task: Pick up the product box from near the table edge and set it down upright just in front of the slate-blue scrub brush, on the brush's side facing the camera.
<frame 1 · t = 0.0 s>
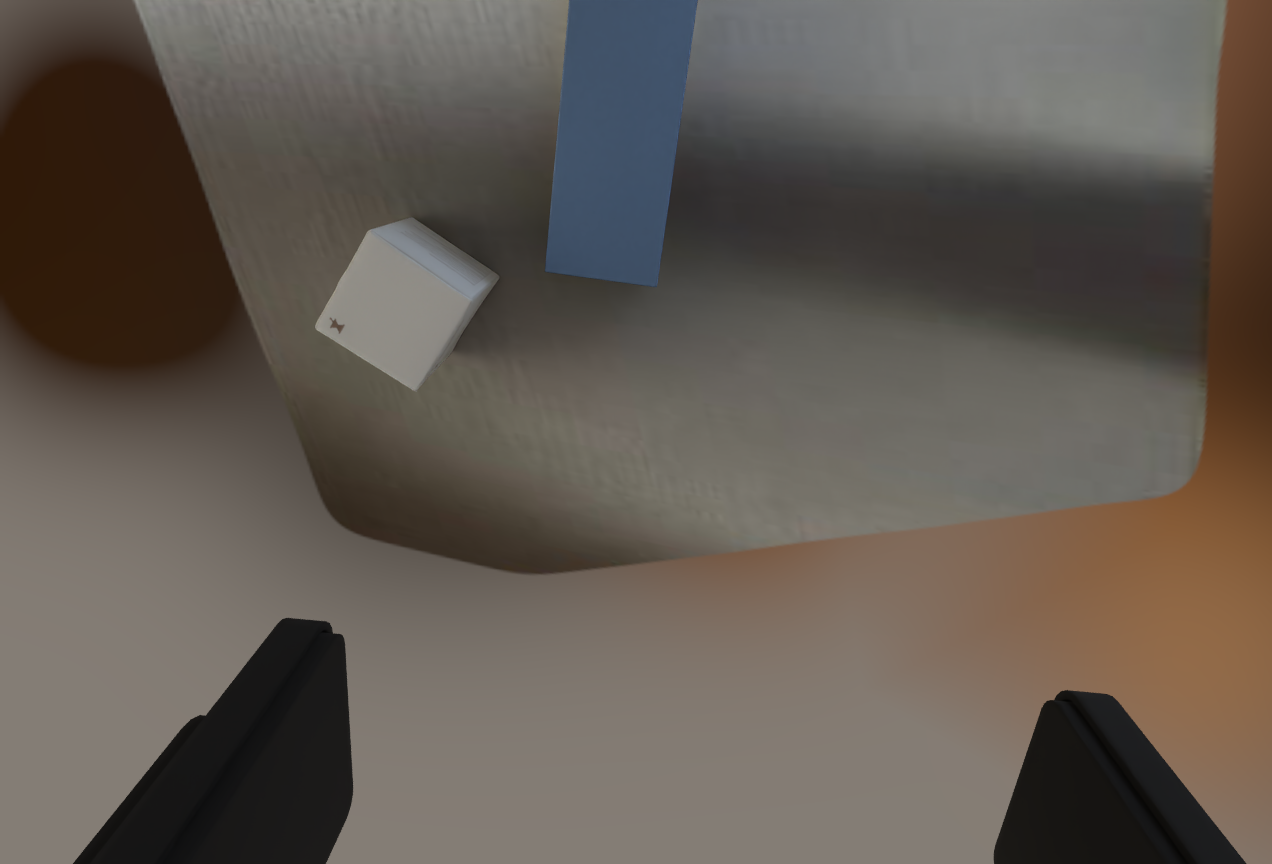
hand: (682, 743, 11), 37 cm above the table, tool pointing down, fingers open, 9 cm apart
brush: (622, 129, 43), on the table
product box: (432, 287, 46), on the table
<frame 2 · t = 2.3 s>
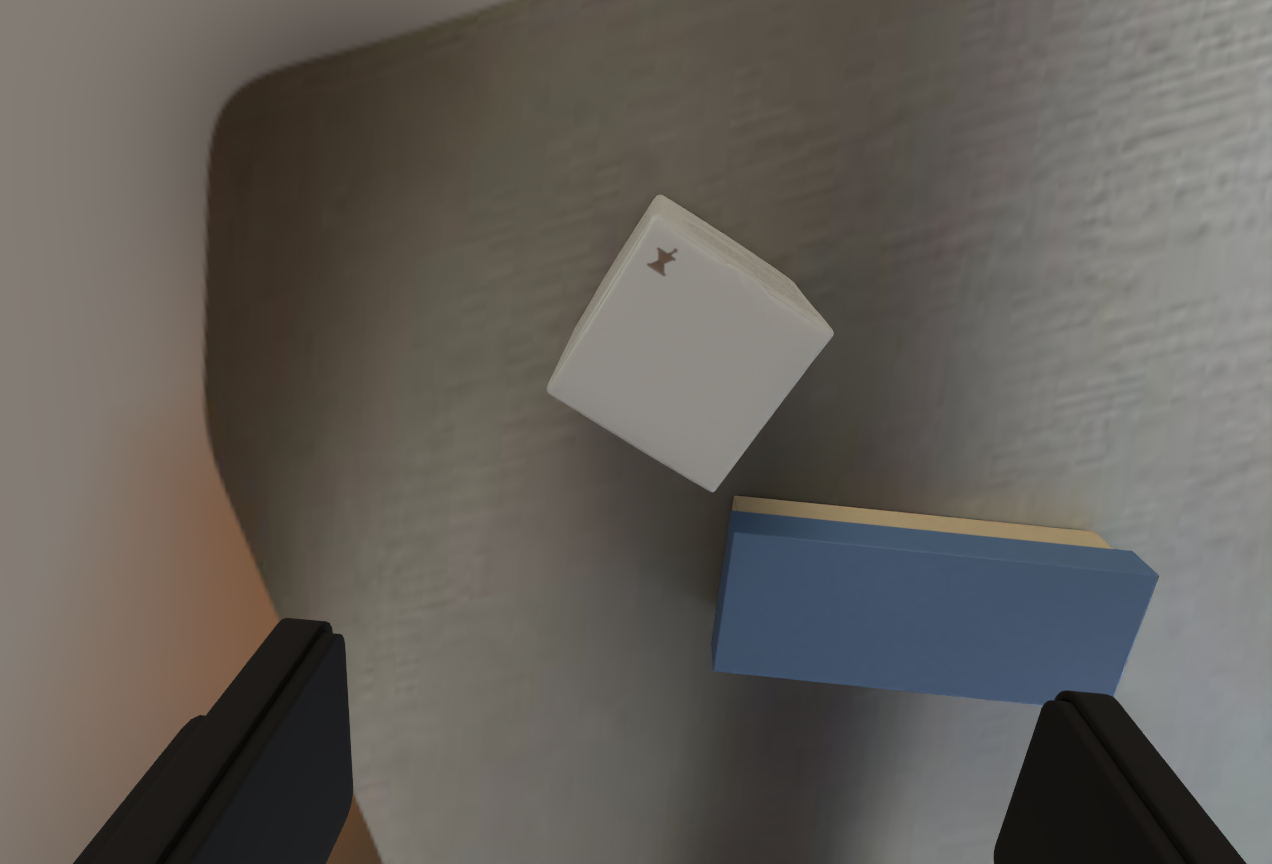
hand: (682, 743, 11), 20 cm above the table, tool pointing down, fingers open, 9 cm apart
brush: (900, 571, 32), on the table
product box: (683, 307, 29), on the table
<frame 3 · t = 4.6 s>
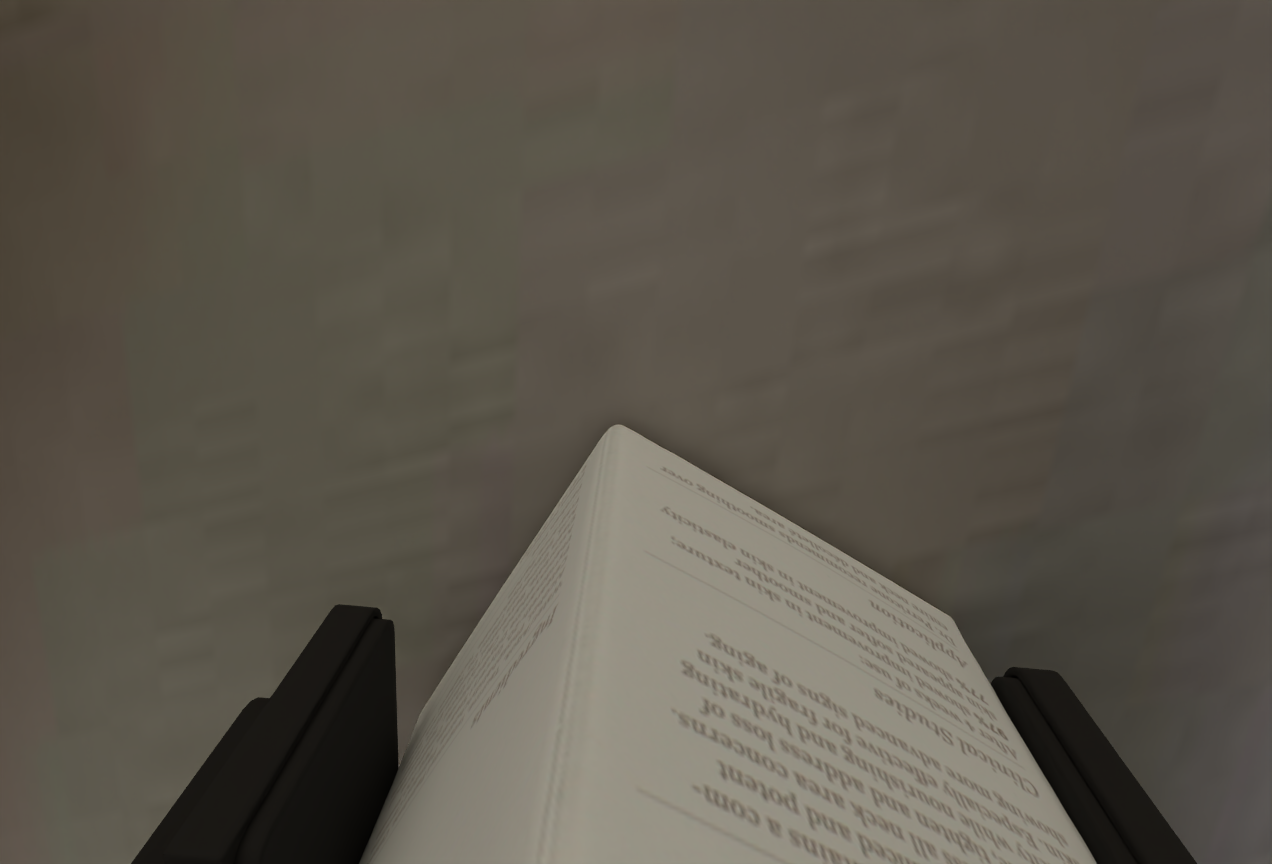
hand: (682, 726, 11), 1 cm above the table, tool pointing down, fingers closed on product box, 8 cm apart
product box: (680, 655, 12), on the table, touching gripper
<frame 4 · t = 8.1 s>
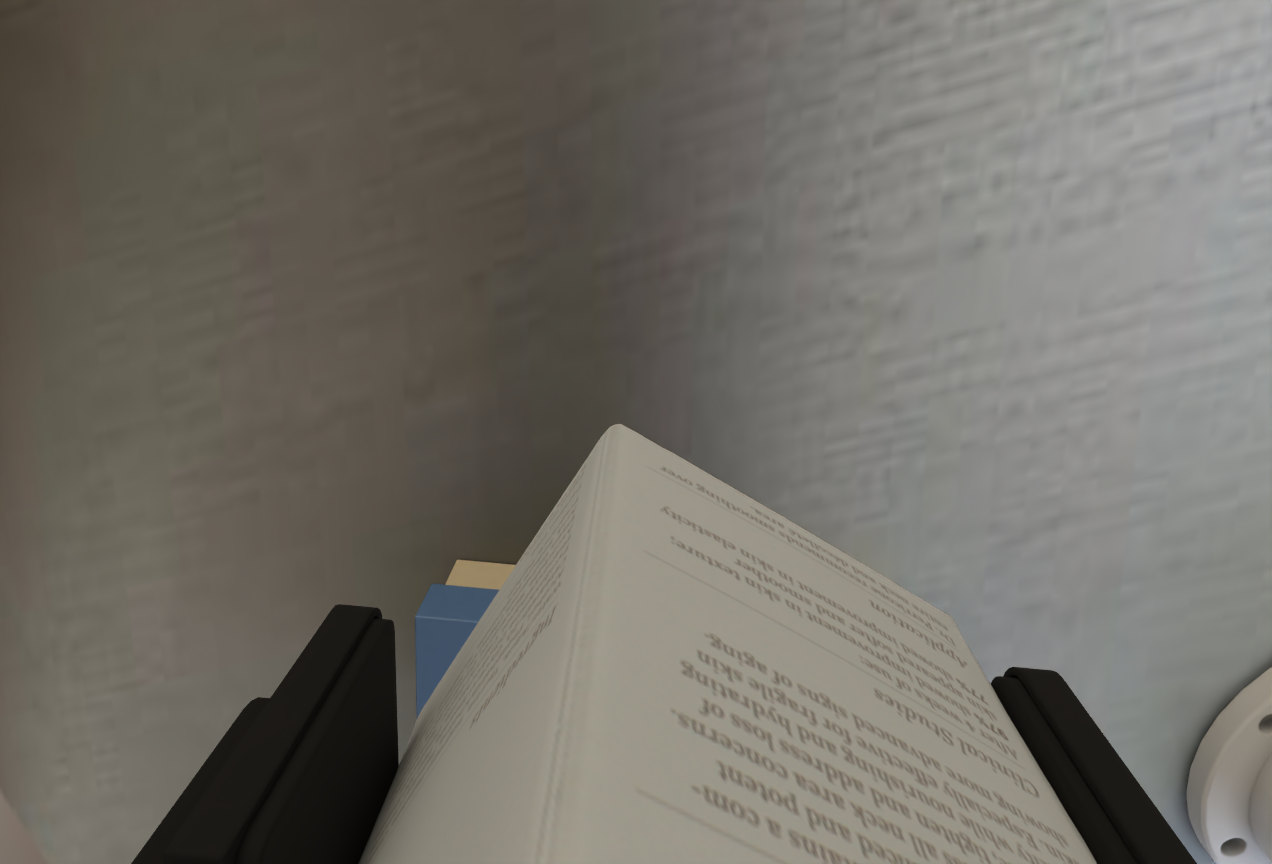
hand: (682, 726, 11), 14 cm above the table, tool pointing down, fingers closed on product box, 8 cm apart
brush: (663, 645, 27), on the table
product box: (679, 655, 12), point 13 cm above the table, touching gripper
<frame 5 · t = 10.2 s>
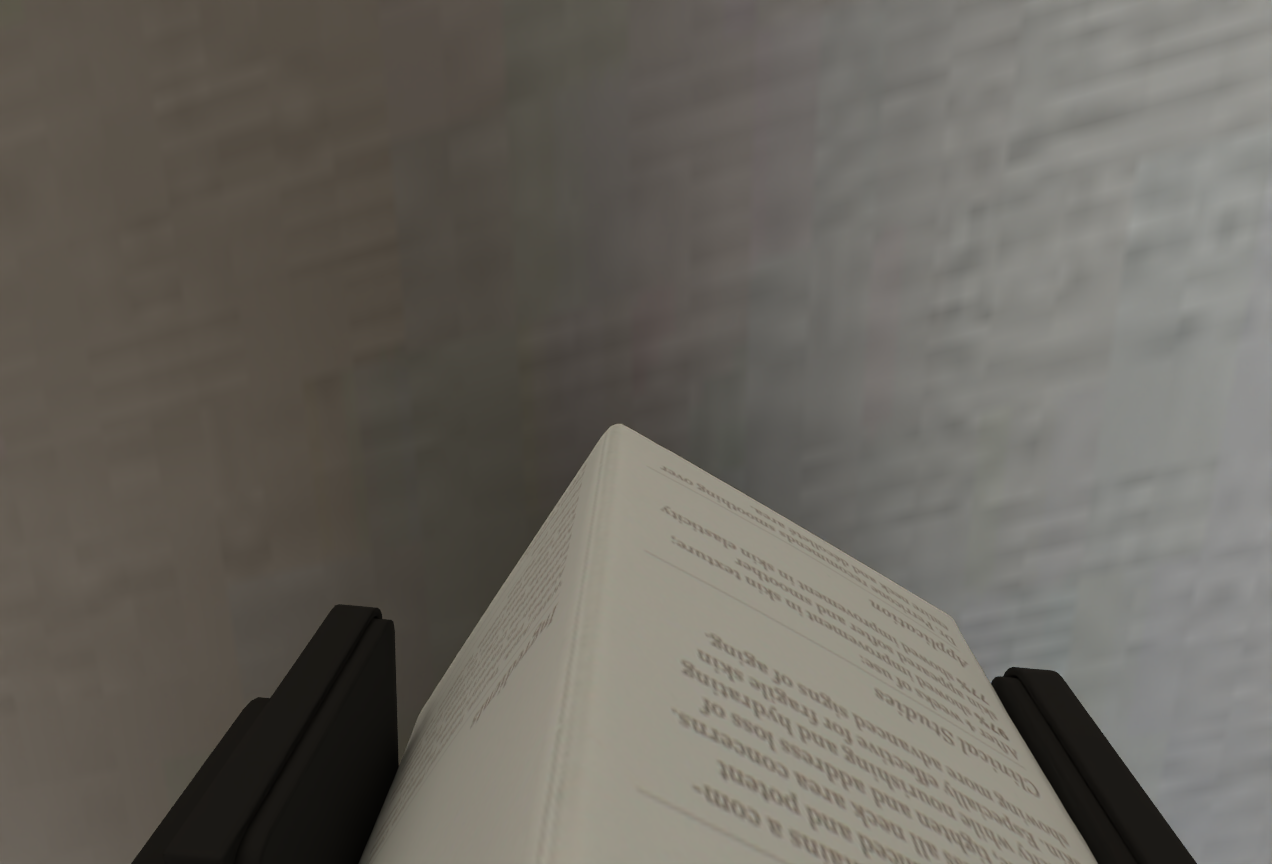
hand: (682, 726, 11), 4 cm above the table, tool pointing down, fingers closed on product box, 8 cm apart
product box: (680, 655, 12), point 3 cm above the table, touching gripper
when the fingers open (1 cm above the table, at t = 11.5 s): product box stays where it is, on the table.
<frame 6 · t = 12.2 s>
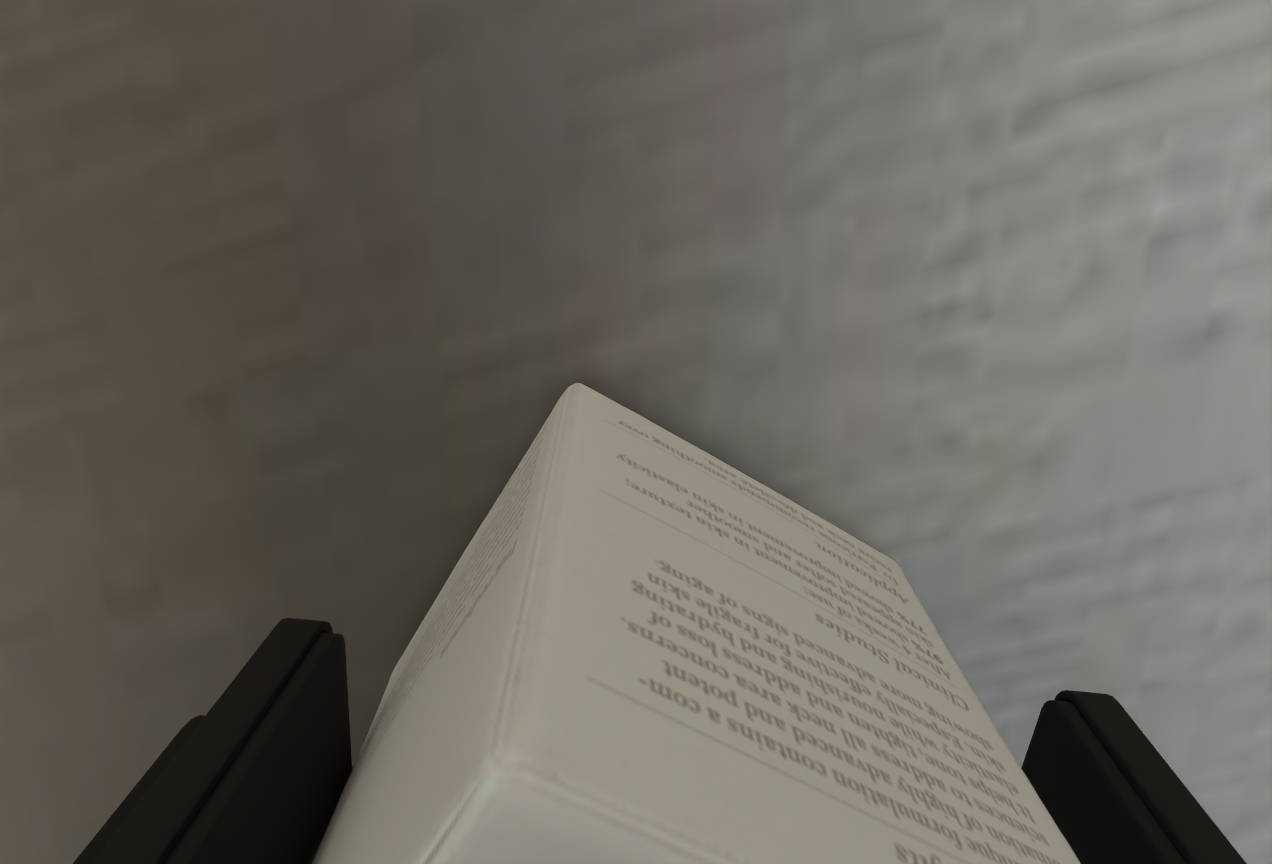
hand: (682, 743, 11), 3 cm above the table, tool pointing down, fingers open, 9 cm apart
product box: (642, 607, 13), on the table, touching gripper
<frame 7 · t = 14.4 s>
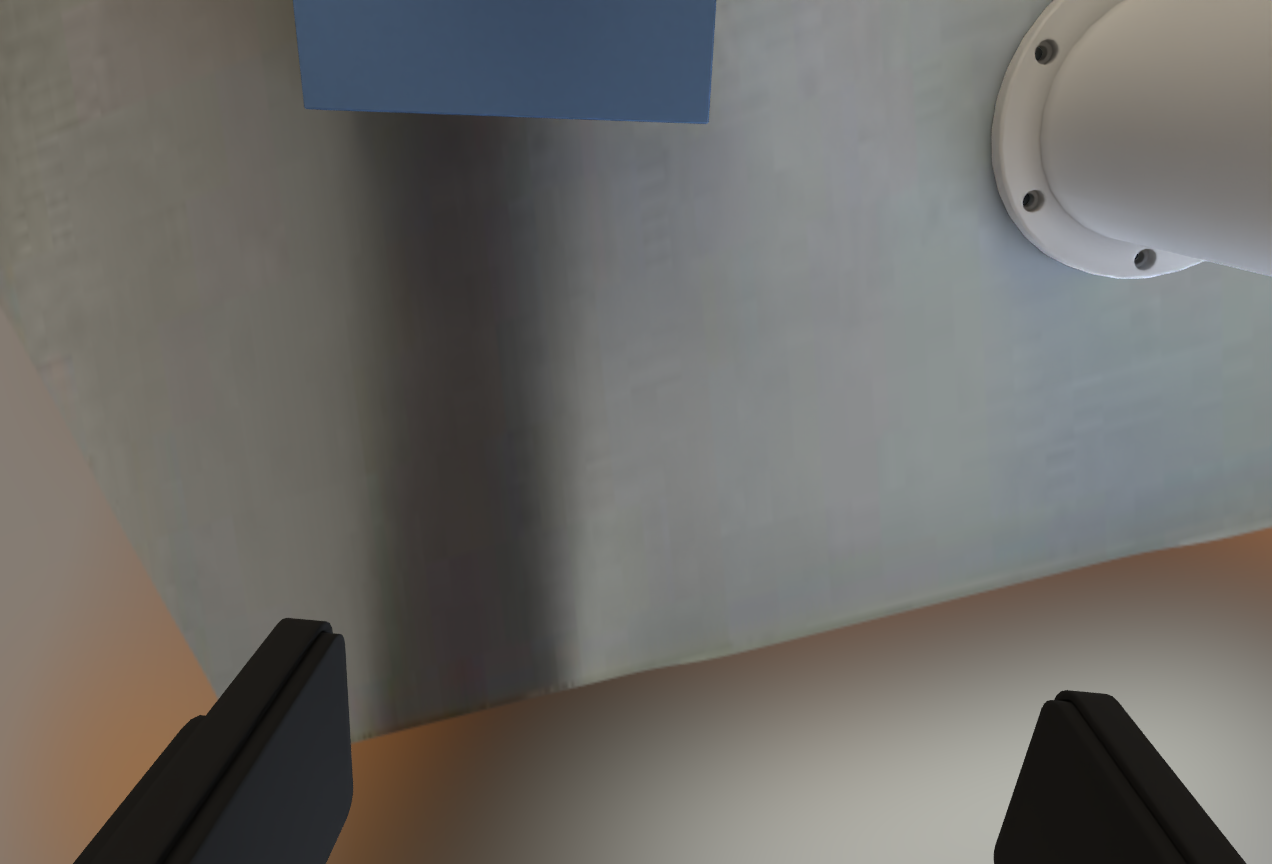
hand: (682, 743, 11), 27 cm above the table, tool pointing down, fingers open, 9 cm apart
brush: (521, 37, 32), on the table
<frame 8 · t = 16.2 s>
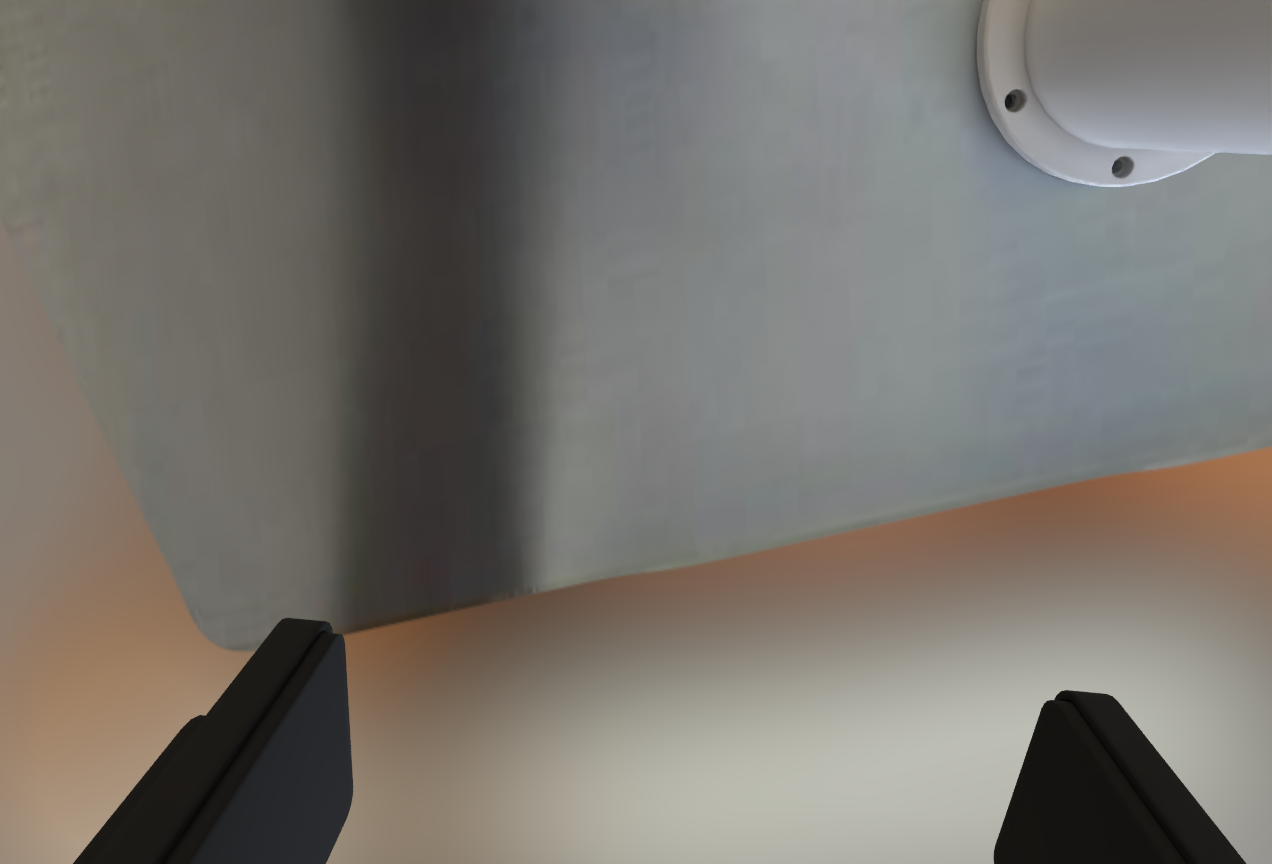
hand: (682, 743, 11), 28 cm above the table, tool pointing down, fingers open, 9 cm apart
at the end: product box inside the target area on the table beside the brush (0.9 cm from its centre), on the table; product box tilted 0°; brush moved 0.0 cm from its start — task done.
